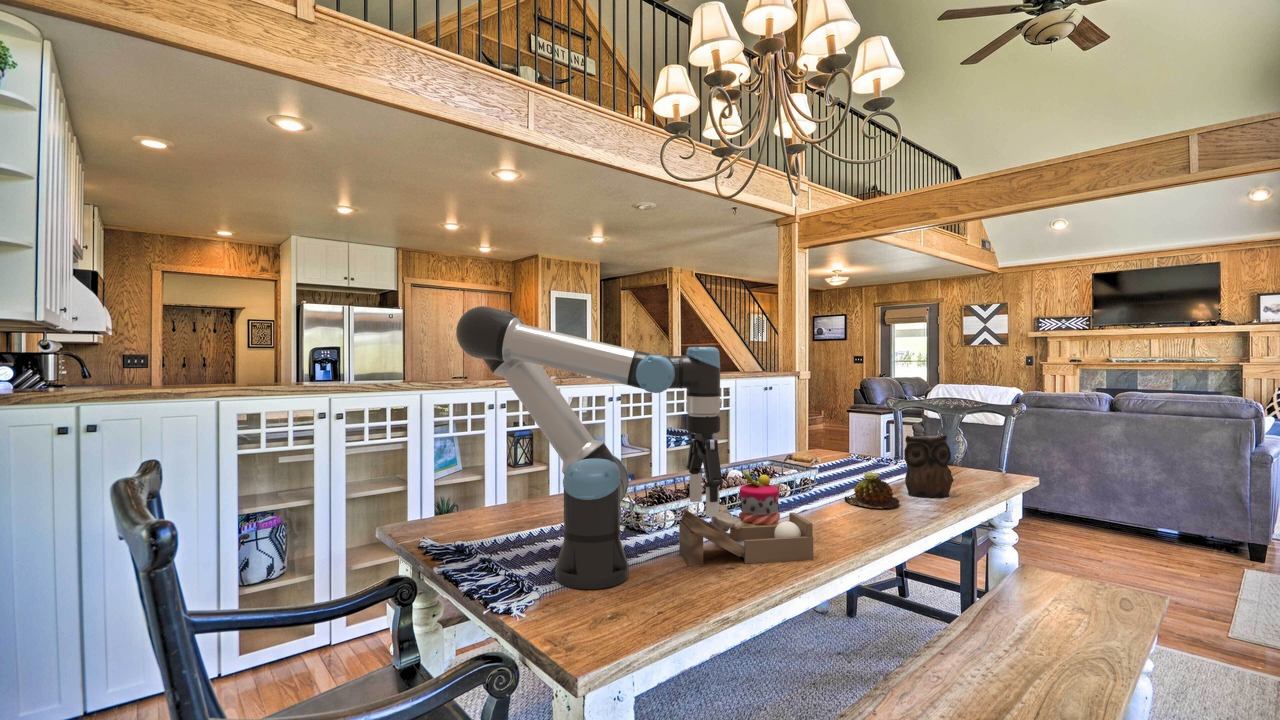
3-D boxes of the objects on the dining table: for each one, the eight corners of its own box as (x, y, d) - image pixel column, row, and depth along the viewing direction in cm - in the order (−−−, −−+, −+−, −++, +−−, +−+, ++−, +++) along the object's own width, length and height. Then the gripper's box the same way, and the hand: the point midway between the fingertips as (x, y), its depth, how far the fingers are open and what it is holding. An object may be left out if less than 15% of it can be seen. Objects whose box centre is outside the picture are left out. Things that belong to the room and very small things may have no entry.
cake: (766, 521, 166) (766, 467, 166) (787, 532, 156) (787, 474, 155) (732, 525, 162) (732, 470, 162) (751, 536, 152) (751, 477, 152)
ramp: (689, 566, 130) (689, 521, 130) (679, 552, 140) (679, 510, 140) (745, 562, 132) (745, 518, 132) (731, 549, 142) (731, 507, 142)
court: (745, 563, 132) (745, 527, 132) (729, 548, 142) (729, 515, 142) (813, 559, 134) (813, 523, 134) (793, 545, 145) (793, 512, 145)
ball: (807, 547, 135) (805, 522, 139) (787, 540, 133) (785, 514, 137) (789, 554, 139) (787, 529, 143) (769, 547, 137) (768, 522, 141)
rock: (722, 537, 139) (708, 508, 141) (715, 537, 153) (703, 511, 155) (744, 526, 140) (730, 497, 142) (736, 527, 154) (723, 501, 156)
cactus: (838, 496, 197) (838, 467, 197) (889, 497, 195) (889, 468, 195) (851, 509, 180) (851, 477, 180) (907, 511, 178) (907, 478, 178)
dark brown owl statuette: (954, 496, 196) (954, 435, 196) (934, 501, 189) (934, 438, 189) (917, 489, 206) (917, 431, 206) (897, 494, 199) (897, 434, 199)
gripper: (737, 420, 124) (737, 522, 124) (704, 410, 148) (704, 495, 148) (702, 420, 123) (702, 524, 123) (674, 410, 147) (674, 496, 147)
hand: (703, 508), depth 136 cm, fingers open, 13 cm apart
